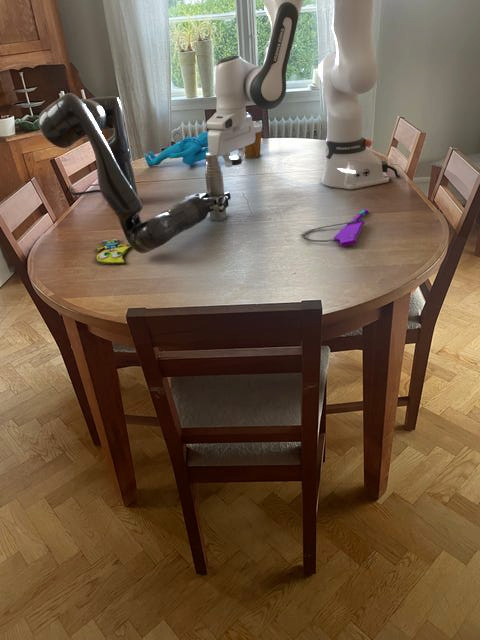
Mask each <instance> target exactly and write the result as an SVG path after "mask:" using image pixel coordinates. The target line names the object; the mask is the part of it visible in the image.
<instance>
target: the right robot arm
mask: <svg viewBox="0 0 480 640" xmlns="http://www.w3.org/2000/svg"><path fill="white" fill-rule="evenodd" d="M304 2H305V0H263V7H264V10H265V12H266V14H267V16H268V18H269V21H270V35H269V40H268V43H267V44H268V45H267V48H266V53H265V57H264V62H263V64H262V65H261V66H259V65H256V64H253V63H251V62H249V61H247V60H245V59H243V58H242V57H241V56H240V55H230V56H226V57H223V58H220V59H219V60H217V61H216V63H215V64H214V68H213V69H214V70H213V86H214V87H213V88H214V94H215V98H216V105H215V111H216V112H214V114H213V115H212V116H211V117H210V118H208V120H207V121H206V123H205V125H206V128H207V129H208V131H207V132H208V148H209V153H211V152H216V153H218V158H220V157H222V159H223V160H224V163H225V165H224V166H225V167H226V168H231V167H233V166H234V165H233V164H232V163H233V161H232V160H230V156H231V153H233V152H235V151H237V156H241V159H242V163H243V162H244V157H245V153H244V152H245V146H247V145H250V144H252V143H254V142H255V128H254V124H255V123H254V120H253V116H252V115H251V114H250V113H249V112H247V111H246V110H247V109H246V108H247V107H246V106H247V105H246V104H247V103H248V102H249V103H250V102H252V103H253V104H255V105H256V106H257V107H259V109H262V110H267V111H269V110H272V109H275V108H276V107H278V106H279V105H281V103H282V102H283V101H284V99H285V97H286V93H287V69H288V65H289V60H290V56H291V52H292V47H293V44H294V40H295V36H296V31H297V26H298V22H299V18H300V14H301V10H302V7H303V4H304ZM373 3H374V0H333V7H332V21H331V23H332V24H331V29H332V33H333V35H334V40H335V46H336V51H335V52H332V53H329V54H327V55H326V56H325V57H323V58H322V60H321V62H320V64H319V65H318V77H319V80H320V82H321V85H322V89H323V94H324V101H325V107H326V116H327V117H326V118H327V123H326V125H327V126H326V127H327V129H326V130H327V132H326V139H325V145H324V154H325V155H324V156H325V164H324V170H323V175H322V178H321V183H322V185H324V186H327V187H330V188H338V189H339V188H341V189H346V190H356V189H361V188H366V187H371V186H376V185H380V184H385V183H389V182H390V176H389V175H388V174H387V173H388V169H390V170H391V171H393V172H394V175H395V177H396V178H397V179H399V178H400V177H401V175H400V174H398V170H397V169H396V168H395V167H394V166H392V165H389V164H388V162H387V161H386V160H381V159H380V158H379V157H377V156H376V155H375V154H373V152H371V151H370V150H368V148H370V147H371V146H373V141H372V140H371V139H368V138H367V139H366V138H364V137H362V134H363V118H364V114H363V113H364V112H363V110H362V107H361V104H360V101H359V95H362V94H365V93H368V92H370V91H371V90H372V89H373V88H374V86H375V85H376V84H377V81H378V79H379V78H378V77H379V67H378V65H377V62H376V61H375V57H374V53H373V44H372V31H371V29H372V28H371V27H372V16H373V5H374V4H373Z"/></svg>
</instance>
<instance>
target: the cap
mask: <svg viewBox="0 0 480 640" xmlns="http://www.w3.org/2000/svg"><path fill="white" fill-rule="evenodd" d="M229 157H230V160H232V161H233V163H232V164H233V166H239V165H242V163H243V162H242V159H241V156H238V155H230V156H229Z"/></svg>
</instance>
